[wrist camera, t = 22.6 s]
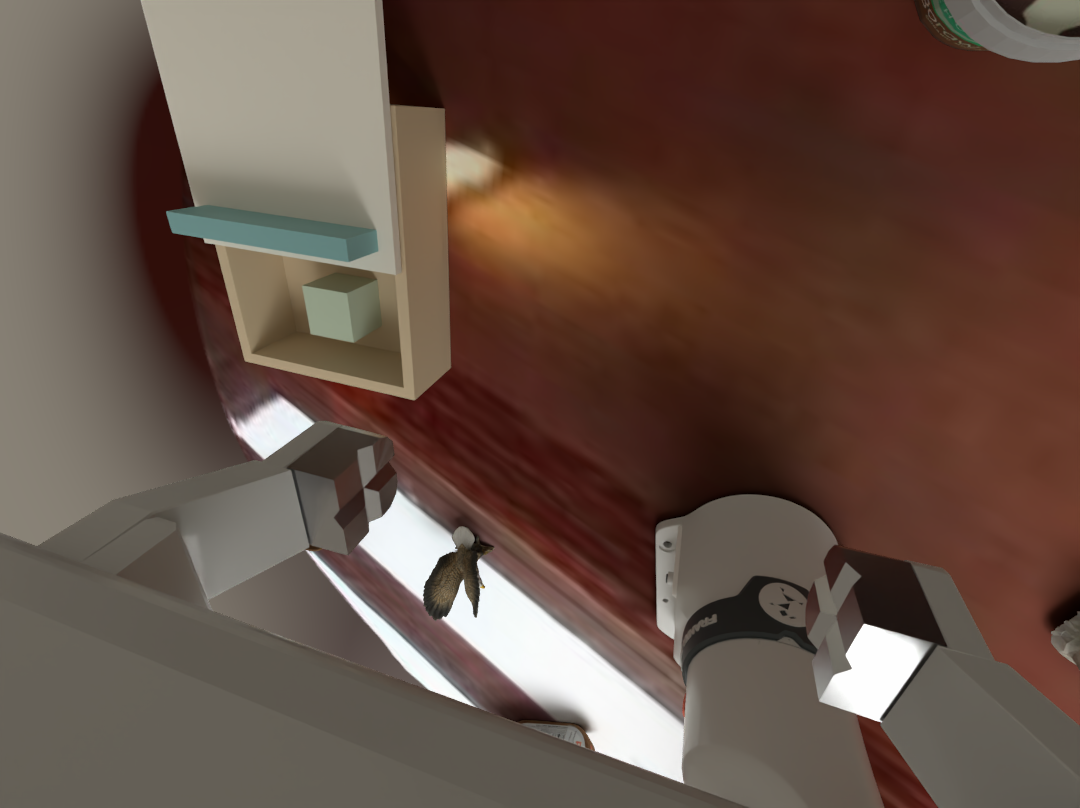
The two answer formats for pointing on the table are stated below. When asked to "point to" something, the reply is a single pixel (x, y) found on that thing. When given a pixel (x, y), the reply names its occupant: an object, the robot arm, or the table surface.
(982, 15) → the food container
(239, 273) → the box
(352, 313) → the cube
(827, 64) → the table surface
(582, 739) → the tin
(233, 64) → the lid
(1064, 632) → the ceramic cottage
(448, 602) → the eagle figurine
